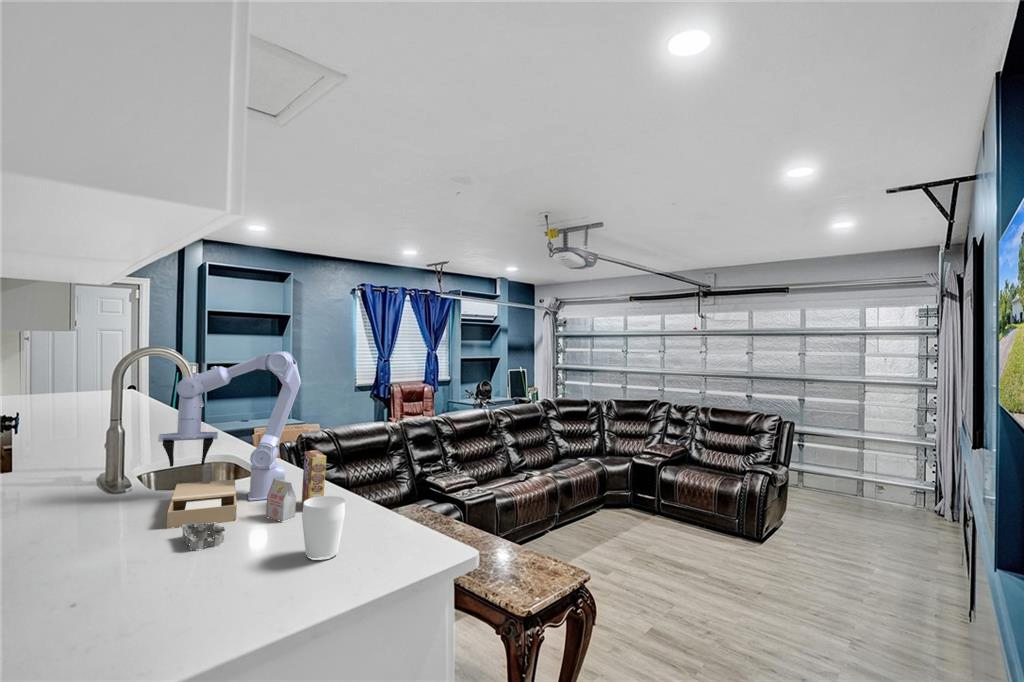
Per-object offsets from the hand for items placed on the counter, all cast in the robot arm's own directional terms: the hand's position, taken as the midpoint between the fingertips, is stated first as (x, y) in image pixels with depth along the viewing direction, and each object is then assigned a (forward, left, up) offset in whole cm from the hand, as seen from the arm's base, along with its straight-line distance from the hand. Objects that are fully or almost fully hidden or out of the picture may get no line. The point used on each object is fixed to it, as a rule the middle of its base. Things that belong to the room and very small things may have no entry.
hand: (187, 464), depth 148 cm
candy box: (-32, +20, -10) cm, 39 cm away
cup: (-29, +56, -10) cm, 64 cm away
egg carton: (-5, +37, -10) cm, 39 cm away
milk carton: (-23, +27, -10) cm, 37 cm away
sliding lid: (-5, +8, -6) cm, 11 cm away
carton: (-5, +17, -10) cm, 20 cm away
